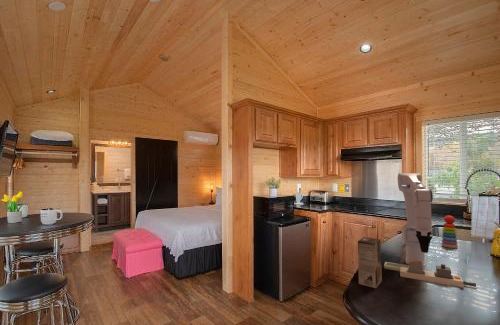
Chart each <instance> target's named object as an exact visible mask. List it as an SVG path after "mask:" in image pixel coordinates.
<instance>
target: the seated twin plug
mask: <svg viewBox="0 0 500 325" xmlns="http://www.w3.org/2000/svg"><path fill="white" fill-rule="evenodd" d="M435 272H436V277H440V278H446V279H451V275H452V270H451V268H450V267H449V266H446V264H443V263H441V264H440V265H437V264H436V265H435Z"/></svg>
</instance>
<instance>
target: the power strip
mask: <svg viewBox="0 0 500 325" xmlns="http://www.w3.org/2000/svg"><path fill="white" fill-rule="evenodd" d="M399 275H400V278H407V279H413V280H419V281H425V282H429V283H436V284H442V285H447V286H453V287H458V288H459V289H464V288H465V287H464V286H469V287H474V288H475V287H477V283H476V282H470V281H464V280H463V279H462V277H461V275H455V274H451V279H446V278H440V277H436V271H429V270H424V269H422V274H416V273H410V272H409V268H406V267H401V268H400V271H399Z"/></svg>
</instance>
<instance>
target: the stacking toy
mask: <svg viewBox="0 0 500 325" xmlns="http://www.w3.org/2000/svg"><path fill="white" fill-rule="evenodd" d="M443 220H444V222H445V223H444V224H443V230H442V232H443V233H442V237H441V238H442V239H441V246H442V247H444V248H448V249H449V248H450V249H457V248H458V247H459V245H458V238H457V231H456V225H455V224H454V223H455V222H456V219H455V217H454V216H452V215H445V216H444V219H443Z"/></svg>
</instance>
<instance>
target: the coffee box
mask: <svg viewBox="0 0 500 325" xmlns="http://www.w3.org/2000/svg"><path fill="white" fill-rule="evenodd" d="M357 257H358V258H357V259H358V260H357V261H358V262H357V263H358V268H359V269H358V268H357V269H358V284H359V285H362V286H365V287H369V288H374V289H377V288H378V287H379V285H380V284H381V283H382V282H383V275H382V274H383V272H382V242H381V239H378V238H374V237H373V238H372V237H368V236H367V237H365V236H364V237H362V238H360V239H359V240H358V241H357Z"/></svg>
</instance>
